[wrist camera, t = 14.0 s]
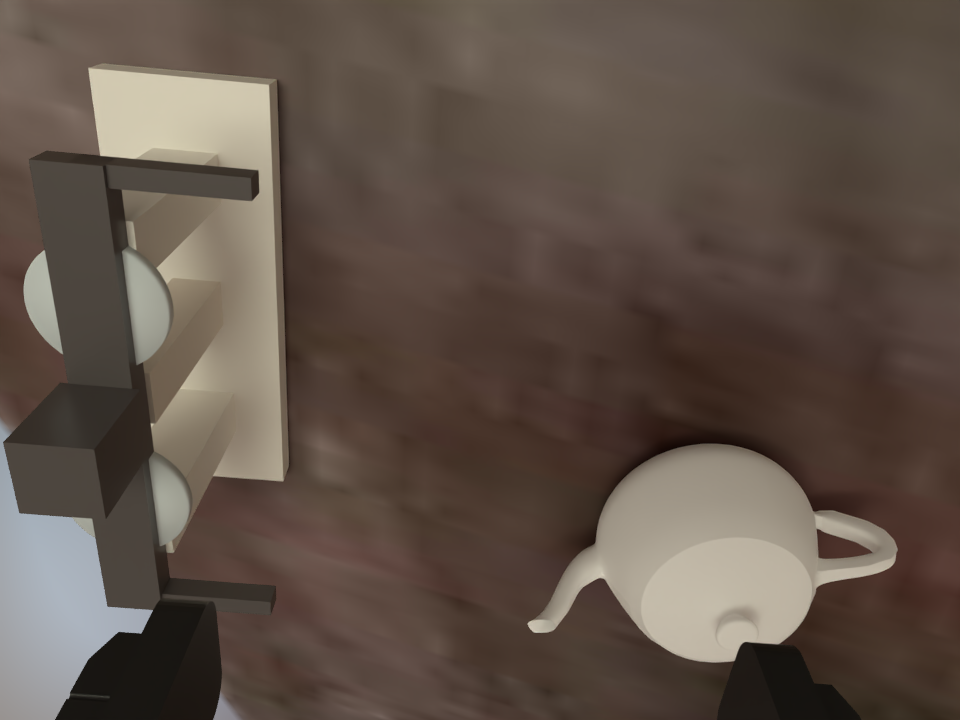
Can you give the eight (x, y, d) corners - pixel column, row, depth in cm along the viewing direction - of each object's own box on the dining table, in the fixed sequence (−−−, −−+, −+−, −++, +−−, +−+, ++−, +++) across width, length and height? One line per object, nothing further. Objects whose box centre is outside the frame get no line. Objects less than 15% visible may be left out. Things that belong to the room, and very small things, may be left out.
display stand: (102, 63, 37) (-45, 112, 27) (276, 79, 37) (196, 134, 27) (153, 455, 47) (60, 598, 37) (288, 466, 47) (234, 610, 37)
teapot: (538, 604, 53) (548, 742, 44) (505, 451, 47) (508, 573, 38) (851, 562, 51) (928, 697, 42) (855, 397, 45) (946, 512, 36)
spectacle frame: (4, 146, 27) (-94, 190, 23) (258, 169, 27) (212, 217, 23) (87, 584, 37) (30, 677, 32) (276, 598, 37) (245, 693, 32)
